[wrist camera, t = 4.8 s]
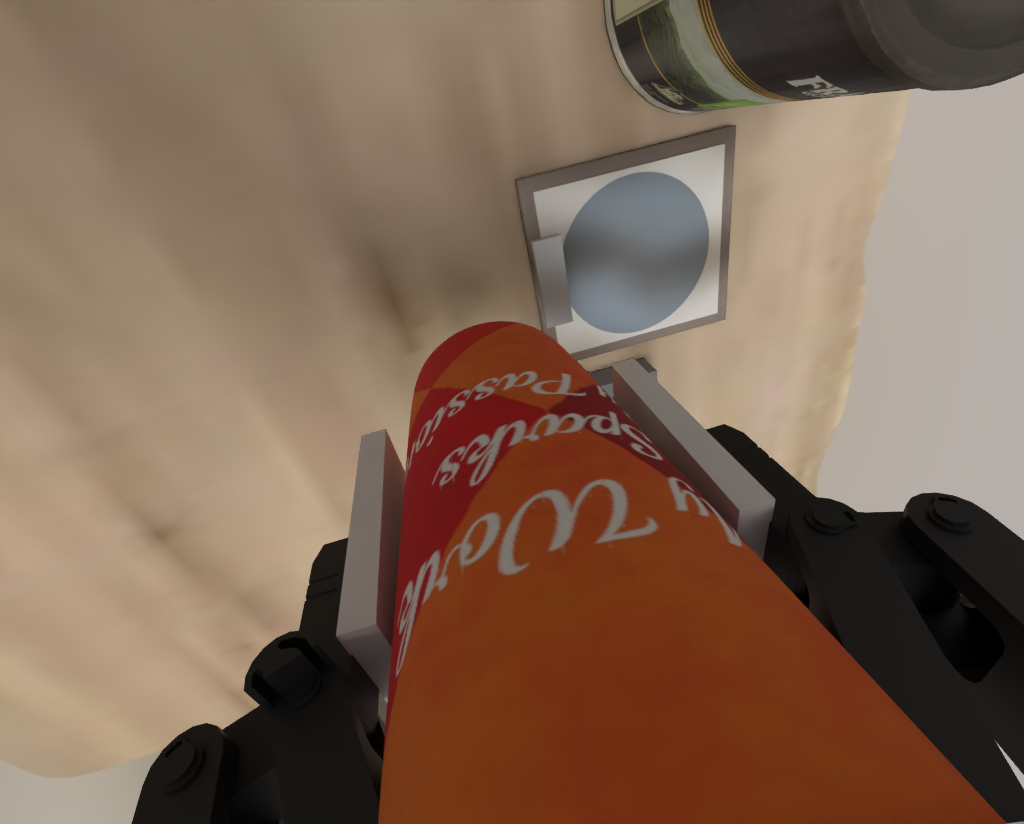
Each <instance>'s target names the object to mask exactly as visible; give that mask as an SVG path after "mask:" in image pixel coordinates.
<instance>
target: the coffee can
mask: <svg viewBox="0 0 1024 824" xmlns="http://www.w3.org/2000/svg"><path fill="white" fill-rule="evenodd" d="M604 4H605V15H606V26H607V31H608V35H609V38H610V41H611V45H612V49H613V52H614V54H615V57H616V59H617V61H618V64H619V66H620V68H621V70H622V72H623V74H624V75H625V76H626V78H627V79H628V81H629V82H630V84H631V85H632V86H633V88H634V89H635V90H636V91H637V92H638V93H639V94H640V95H641V96H642V97H644V98H645V99H646V100H647V101H648V102H650V103H651V104H653V105H655V106H656V107H659V108H661V109H663V110H666V111H669V112H673V113H679V114H697V113H703V112H708V111H712V110H717V109H726V108H735V107H743V106H753V105H762V104H771V103H781V102H791V101H802V100H812V99H821V98H834V97H841V96H852V95H863V94H869V93H880V92H890V91H901V90H908V89H915V88H920V89H926V90H931V91H934V90H935V91H936V90H963V89H973V88H978V87H983V86H990V85H993V84H996V83H999V82H1002V81H1005V80H1008V79H1010V78H1012V77H1015V76H1018V75H1020V74H1023V73H1024V0H604Z"/></svg>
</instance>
